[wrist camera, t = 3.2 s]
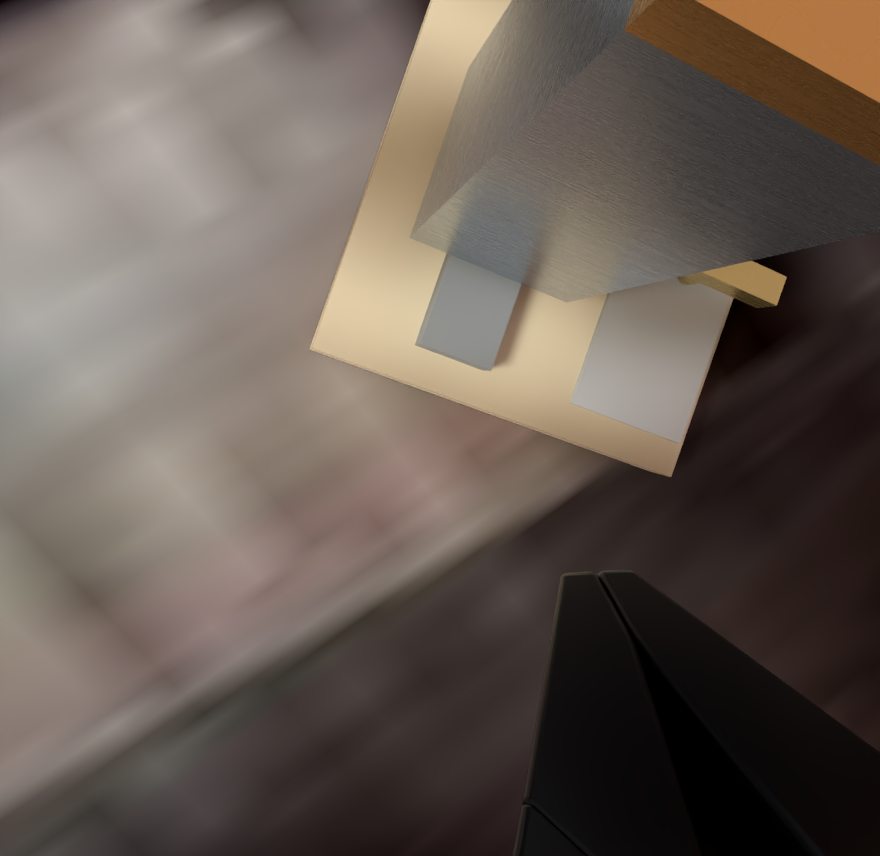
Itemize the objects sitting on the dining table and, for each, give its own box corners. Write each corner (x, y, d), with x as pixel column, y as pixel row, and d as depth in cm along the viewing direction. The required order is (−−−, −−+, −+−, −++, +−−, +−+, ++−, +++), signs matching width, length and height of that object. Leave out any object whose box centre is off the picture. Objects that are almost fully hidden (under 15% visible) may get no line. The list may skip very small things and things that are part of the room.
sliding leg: (718, 370, 20) (1362, 372, 8) (404, 242, 18) (669, -15, 6) (768, 224, 20) (1489, 13, 8) (461, 77, 18) (842, -514, 6)
